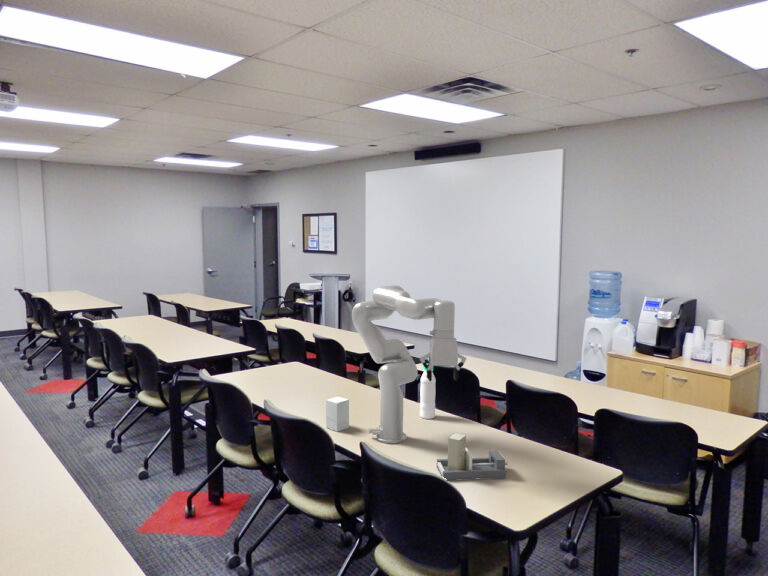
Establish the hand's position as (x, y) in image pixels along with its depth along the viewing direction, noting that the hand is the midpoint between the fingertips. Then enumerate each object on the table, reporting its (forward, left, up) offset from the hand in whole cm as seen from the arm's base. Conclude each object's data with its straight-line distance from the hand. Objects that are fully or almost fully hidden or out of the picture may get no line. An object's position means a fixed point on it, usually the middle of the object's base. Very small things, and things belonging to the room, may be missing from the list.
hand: (442, 379), depth 190 cm
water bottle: (+4, +47, -30) cm, 56 cm away
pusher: (+14, -12, -29) cm, 34 cm away
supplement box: (-38, +36, -31) cm, 61 cm away
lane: (+8, -12, -30) cm, 33 cm away
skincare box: (+3, -12, -29) cm, 32 cm away
